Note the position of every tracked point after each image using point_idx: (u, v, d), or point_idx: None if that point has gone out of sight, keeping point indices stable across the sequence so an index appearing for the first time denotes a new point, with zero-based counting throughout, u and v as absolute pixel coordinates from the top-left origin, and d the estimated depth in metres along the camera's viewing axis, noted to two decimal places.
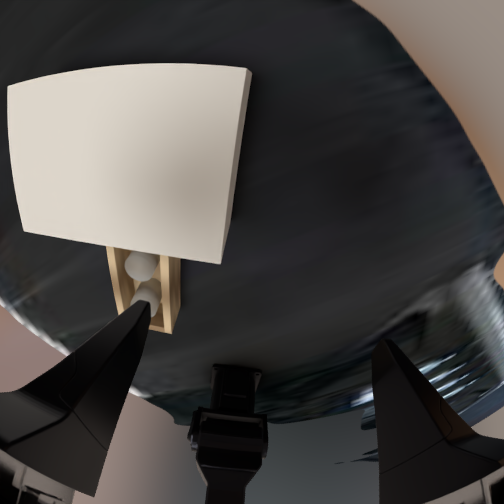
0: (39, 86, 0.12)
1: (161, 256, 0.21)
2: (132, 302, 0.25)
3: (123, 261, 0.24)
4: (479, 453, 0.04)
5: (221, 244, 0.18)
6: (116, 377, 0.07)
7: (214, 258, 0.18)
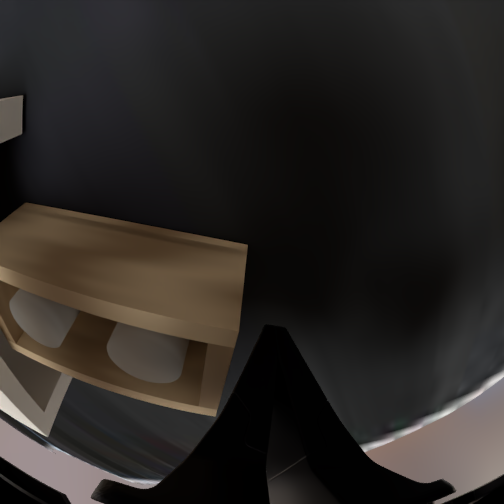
0: None
1: None
2: (134, 374, 0.09)
3: (72, 337, 0.10)
4: (340, 491, 0.04)
5: None
6: None
7: None
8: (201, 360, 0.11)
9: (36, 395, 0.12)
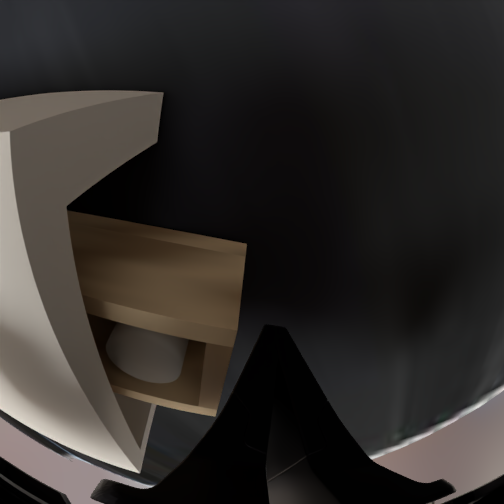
0: None
1: None
2: (133, 374, 0.09)
3: None
4: (340, 491, 0.04)
5: None
6: None
7: None
8: (200, 360, 0.11)
9: None
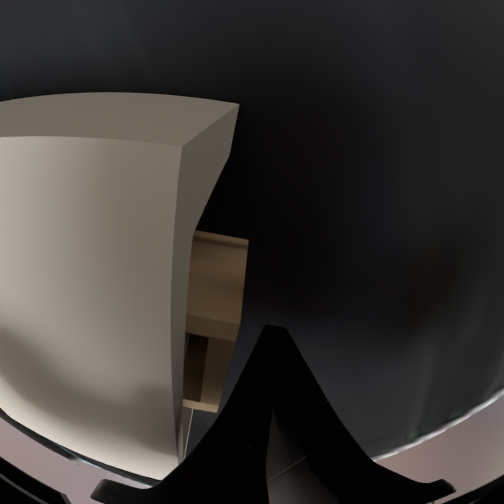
0: None
1: None
2: None
3: None
4: (340, 491, 0.04)
5: (49, 143, 0.02)
6: None
7: (139, 185, 0.03)
8: (202, 356, 0.11)
9: None
